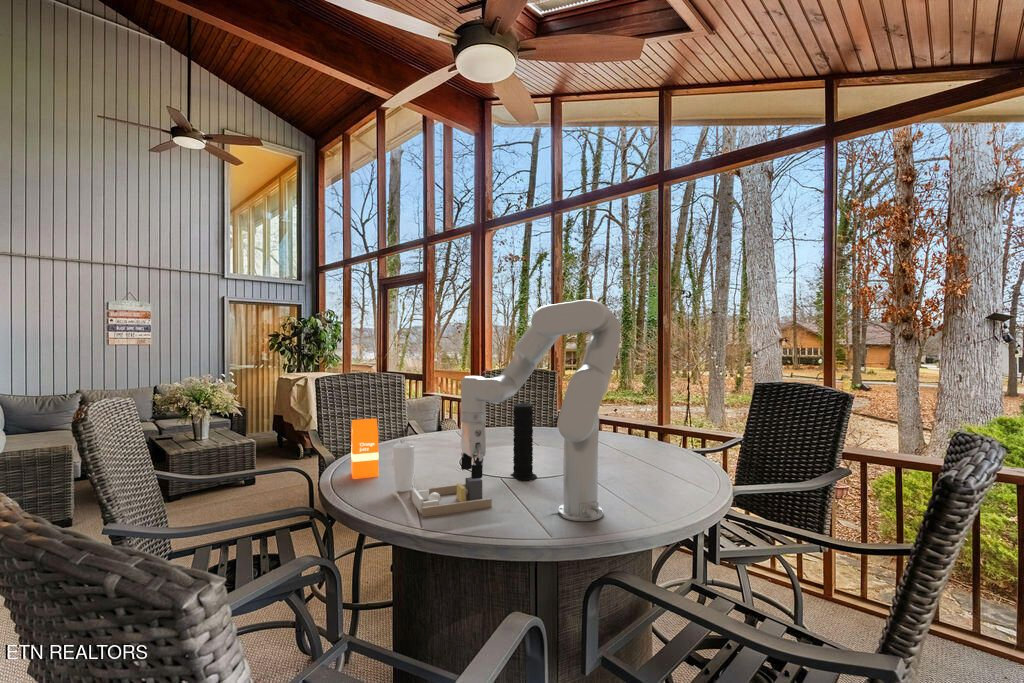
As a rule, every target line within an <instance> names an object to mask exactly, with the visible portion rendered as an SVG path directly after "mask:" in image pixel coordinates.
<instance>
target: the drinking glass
mask: <svg viewBox="0 0 1024 683" xmlns="http://www.w3.org/2000/svg"><path fill="white" fill-rule="evenodd" d="M392 464H393V465H392V466H393V475H394V491H395V493H396V494H398V492H400V493H401V492H410V490H412V488H413V478H414V468H415V467H414V466H415V445H414V444H413V443H408V442H404V443H396V444H393V446H392Z"/></svg>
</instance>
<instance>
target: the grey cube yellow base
mask: <svg viewBox="0 0 1024 683" xmlns="http://www.w3.org/2000/svg"><path fill="white" fill-rule="evenodd" d="M464 480H465V483H464V484H465V487H464V486H463V485H462V484H463V483H456V485H457V493H456V499H457V501H458V502H465V501H472V500H479V499H483V479H482V478H477V479H472V478H471V476H470V477H465V479H464Z"/></svg>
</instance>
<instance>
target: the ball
mask: <svg viewBox="0 0 1024 683" xmlns="http://www.w3.org/2000/svg"><path fill="white" fill-rule="evenodd" d="M433 500H438V505H440V503H441V500H442V498H441V495H439V494H438V493H436V492H433V493H431V494H430V495H429V498H428V500H427V501H433Z"/></svg>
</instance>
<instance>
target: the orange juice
mask: <svg viewBox="0 0 1024 683" xmlns="http://www.w3.org/2000/svg"><path fill="white" fill-rule="evenodd" d="M350 433H351V434H350V435H351V437H350V443H351V444H350V447H351V448H350V455H351V456H350V458H351V460H350V464H351V465H350V469H351V470H350V471H351V472H350V473H351V477H352V480H354V479H356V480H357V479H358V480H359V479H366V478H377V477H379V459H380V458H379V453H380V452H379V429H378V418H363V419H352V420H351V432H350Z"/></svg>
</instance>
